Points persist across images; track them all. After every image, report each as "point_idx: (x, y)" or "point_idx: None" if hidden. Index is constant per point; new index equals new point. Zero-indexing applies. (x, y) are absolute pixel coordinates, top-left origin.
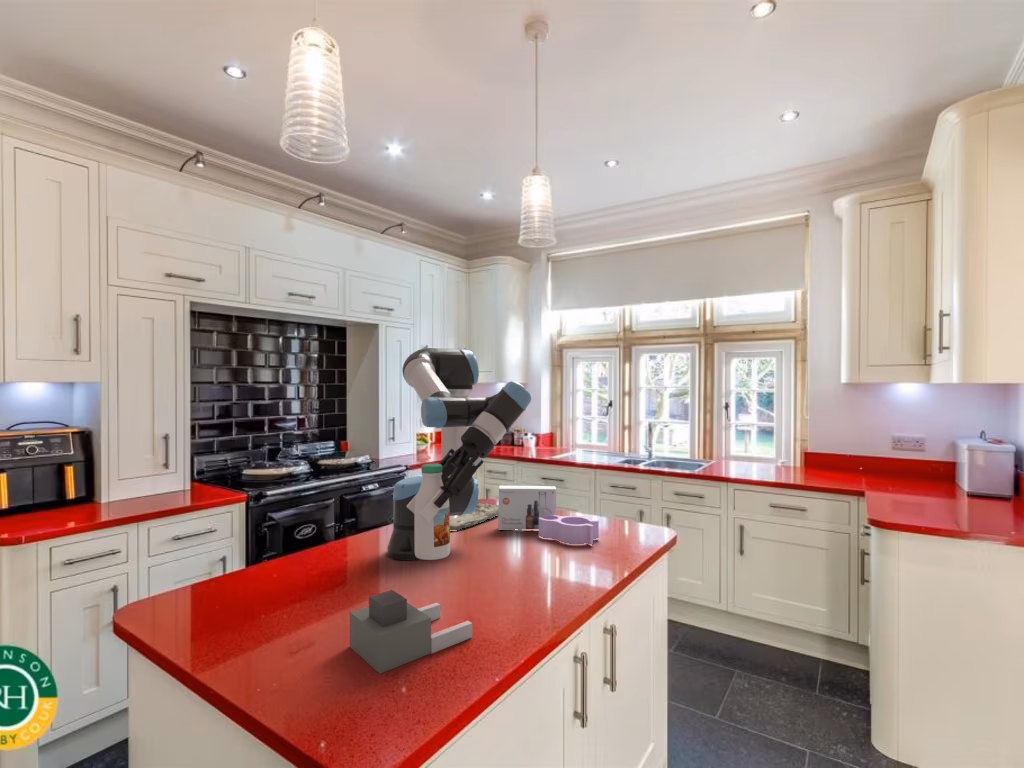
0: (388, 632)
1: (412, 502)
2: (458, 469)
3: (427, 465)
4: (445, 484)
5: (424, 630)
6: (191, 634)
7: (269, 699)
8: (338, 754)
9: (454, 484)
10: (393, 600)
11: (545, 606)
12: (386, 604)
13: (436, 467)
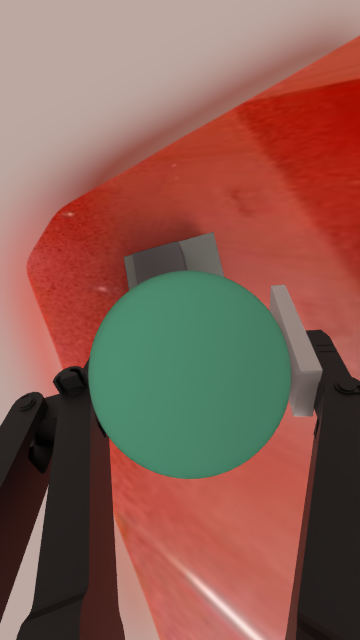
0: (126, 268)
1: (275, 303)
2: (44, 573)
3: (153, 309)
4: (88, 407)
5: None
6: (347, 81)
7: (152, 175)
8: (53, 223)
9: (1, 426)
10: (143, 271)
11: (194, 570)
12: (135, 258)
13: (88, 374)
